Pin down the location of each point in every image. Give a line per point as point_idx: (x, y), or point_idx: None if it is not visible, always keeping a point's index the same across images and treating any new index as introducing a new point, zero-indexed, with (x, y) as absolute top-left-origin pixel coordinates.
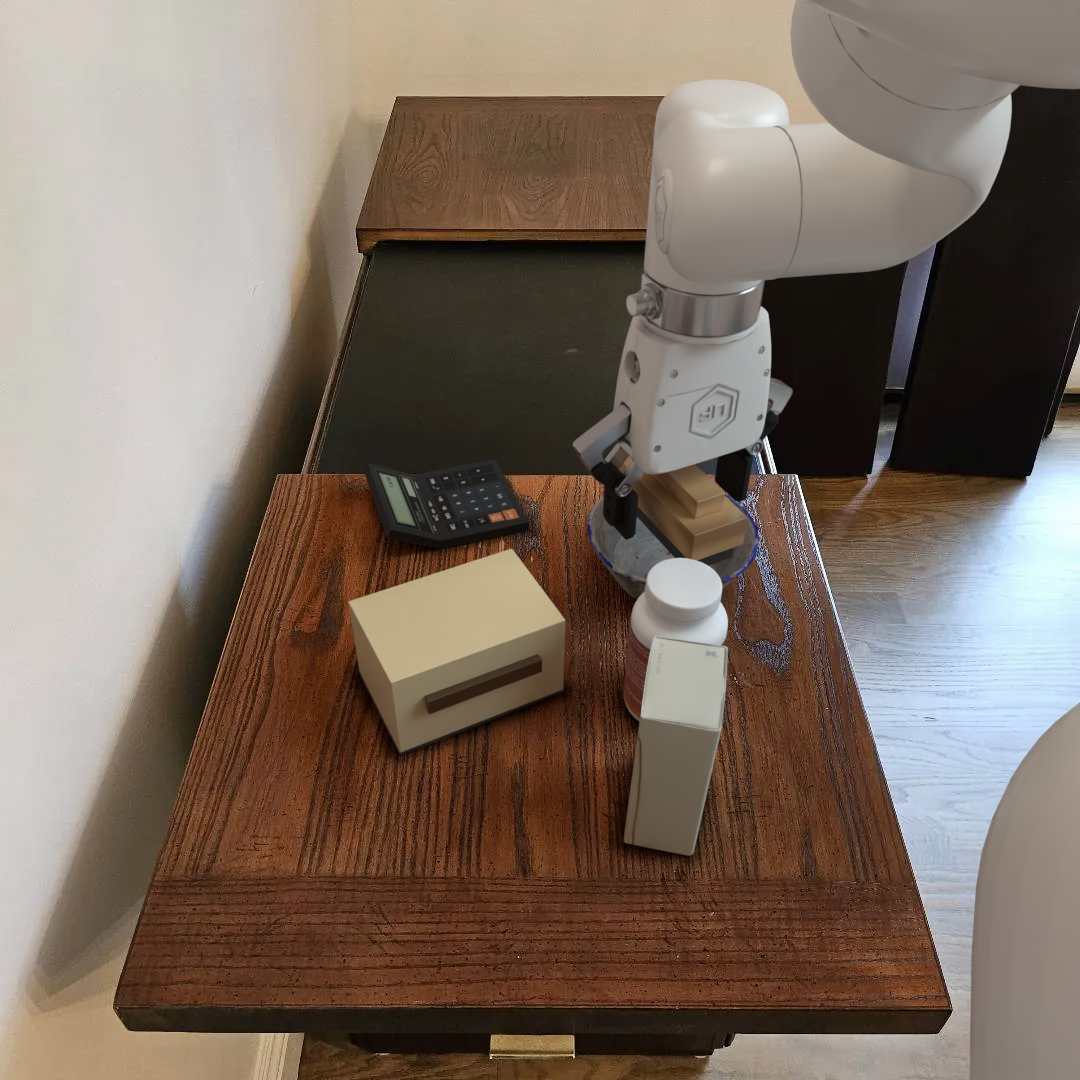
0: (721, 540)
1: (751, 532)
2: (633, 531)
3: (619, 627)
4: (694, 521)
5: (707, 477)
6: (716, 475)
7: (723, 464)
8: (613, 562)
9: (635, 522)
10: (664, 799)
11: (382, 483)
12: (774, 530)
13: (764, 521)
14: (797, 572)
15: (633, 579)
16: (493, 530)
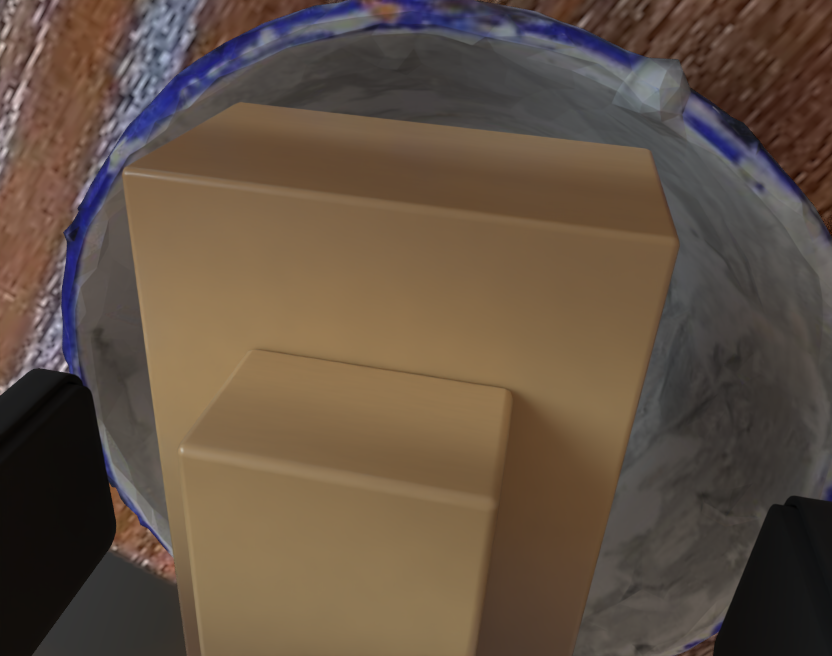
0: (398, 149)
1: (110, 223)
2: (815, 529)
3: (824, 190)
4: (538, 368)
5: (210, 637)
6: (93, 560)
7: (24, 610)
8: (647, 437)
9: (811, 580)
10: None
11: None
12: (9, 260)
13: (21, 309)
14: (29, 45)
15: None
16: None
